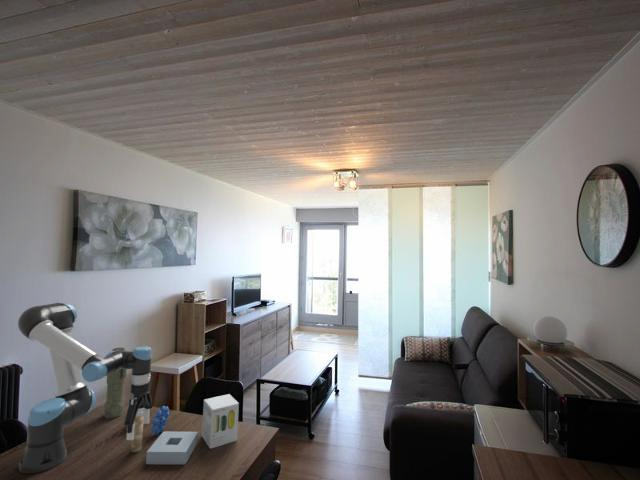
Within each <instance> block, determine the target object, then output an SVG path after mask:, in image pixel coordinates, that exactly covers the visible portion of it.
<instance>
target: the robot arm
mask: <svg viewBox="0 0 640 480" xmlns="http://www.w3.org/2000/svg"><path fill="white" fill-rule="evenodd" d="M77 317H78V314H77V310H76V308H75V307H74V306H73V305H72V304H70V303H68V302H54V303H47V304H43V305H35V306H31V307H29V308H27V309H25V310H24V311H23V312H22V313H21V314H20V316H19V318H18V320H17V321H18V322H17V325H18V326H17V327H18V330H19V331H20V333H21V334H22V335H23V336H24V337H25V338H27V339H28V340H30V341H32V342H33V341H37V342H39V343H40V344H42V345H43V346H45V347H46V348H47V349H49V353H50V357H51V361H52V362H51V363H52V366H53V371H54V376H55V381H56V385H57V392H56V394H55V395H54V398H50V399H48V400H47V399H46V400H43V401H41V402H39V403H37V404H36V405H34V406H32V408H31V409H30V411H29V414H28V415H29V416H28V418H27V435H26V436H27V437H26V447H25V449H24V451H23V452H22V453H23V454H22V455H21V457H20V460H19V463H18V471H19V472H20V473H22V474H36V473H37V474H38V473H40V472H45V471H47V470H50V469H53V468H54V467H56V466H58V465H59V464H61V463H63V461H65V459H66V458H67V456H68V449H67V447H66V443H65V440H64V430H65V427H67V426H68V425H70V424H72V423H73V422H76V421H78V420H79V419H81V418H83V417H85V416H86V415H87V414H89V413H90V412H91V411H92V409H93V408H94V407H95V404H96V398H97V397H96V394H95V392H94V390H92V388H90V387H88V386H87V383H85V382H83V381H82V379H81V376H82V377H83V379H84V381H86V382H89V383H93V382H96V381H100V380H101V379H103V378H105V377H107V375H109V374H111V373H113V372H115V371H118V370H120V369H127V370H131V379H130V380H131V381H130V382H131V385H130V394H132V395H133V398H130V399H129V402H128V408H127V411H126V416H125V420H124V423H123V426H126V441H132V440H133V439H134V427H135V423H134V420H135V417H136V415H137V412H138V409H139V408H140V406H141V404H142V405H143V407H144V408H145V409H143V416H144V418H143V424H145V425H149V424H150V421H149V415H150V416H151V411H150V409H149V408H151V409H152V408H153V404H154V403H153V399H152V394H151V377H152V375H151V370H152V369H151V367H152V358H153V356H152V347H150V346H147V345H146V346H145V345H144V346H138V347H135V348H133V350H132V351H130V350H129V351H128V350H125V351H120V350H117V351H112V350H111V351H108V353H107V354H106V355H105V356H104V357H102V356H101V355H99V354H97V353H96V352H94V351H93V350H91V349H89V348H88V347H87V346H85V345H84V344H82V343H81V342H79V341H78V340H76V339H75V338H73V337H72V334H71V332H72V331H73V329H74V323H75V322H76V319H77ZM80 370H81V373H80Z"/></svg>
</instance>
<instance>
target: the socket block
mask: <svg viewBox="0 0 640 480" xmlns="http://www.w3.org/2000/svg"><path fill="white" fill-rule="evenodd" d="M198 443H199V431H169V430H168V431H167V430H166V431H164V430H163V431H162V432H161V434H160V435H159V436H158V437H157V439H156V440H155V441H154V442H153V443H152V445H151V446H150V447H149V448H148V450H147V451H146V460H145V465H186V464H187V462H188V460H189V459H190V457H191V455H192V454H193V451H195V448H196V446H197V445H198Z"/></svg>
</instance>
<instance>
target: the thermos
mask: <svg viewBox="0 0 640 480" xmlns="http://www.w3.org/2000/svg"><path fill="white" fill-rule="evenodd" d="M117 350H120V351H126V348H124V347H115V348H113V349H112V350H111V351H117ZM127 370H128V369H120V370H118V371H115V372H113V373H111V374H109V375H107V376H106V384H107V386H106V387H107V388H106V398H105V399H106V400H105V402H104V409H103V411H104V416H103V417H104V418H105V419H108V420H109V419H117V418H119V417H122V415H124V408H125V399H124V398H125V397H124V395H125V393H124V392H125V383H126V382H125V381H126V378H127Z"/></svg>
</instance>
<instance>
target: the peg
mask: <svg viewBox="0 0 640 480" xmlns="http://www.w3.org/2000/svg"><path fill="white" fill-rule="evenodd" d="M143 418H144V416H142V415H139V416H136V417H135V420H134V423H135V427H134V439H133V440H131V447H130V451H131V453H139V452H140V451H142V449H143V448H142V447H143V446H142V445H143V433H144V432H143V430H144V426H143Z"/></svg>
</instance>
